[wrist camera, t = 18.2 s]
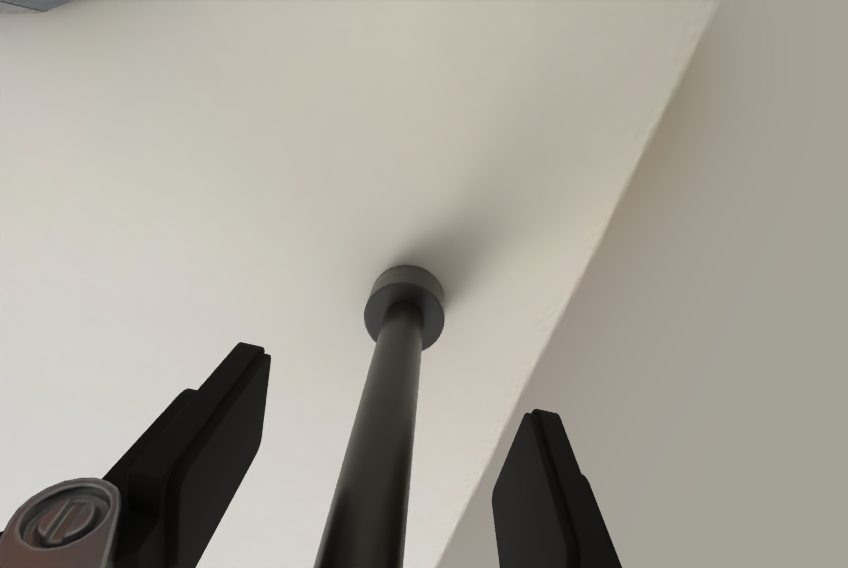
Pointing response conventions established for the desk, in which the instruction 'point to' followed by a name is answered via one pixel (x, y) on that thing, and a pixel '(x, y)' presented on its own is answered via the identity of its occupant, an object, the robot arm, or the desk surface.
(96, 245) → the desk surface
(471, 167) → the desk surface
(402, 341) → the dark grey bolt
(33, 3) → the bowl
